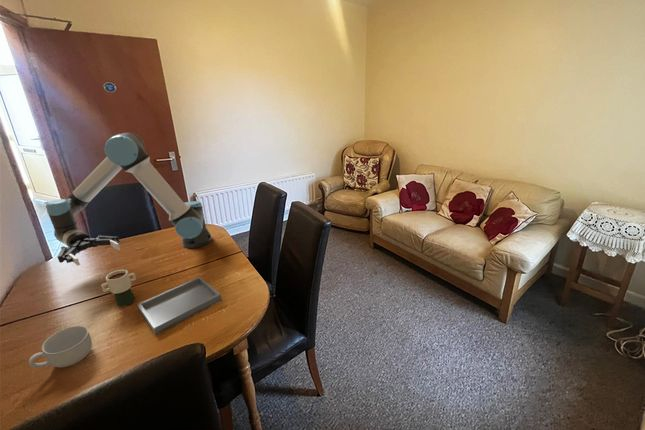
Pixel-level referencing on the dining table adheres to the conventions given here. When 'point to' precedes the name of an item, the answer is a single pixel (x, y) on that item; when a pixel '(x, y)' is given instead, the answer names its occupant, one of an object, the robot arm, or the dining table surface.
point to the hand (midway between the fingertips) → (99, 254)
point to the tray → (178, 304)
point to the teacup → (64, 347)
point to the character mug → (120, 286)
